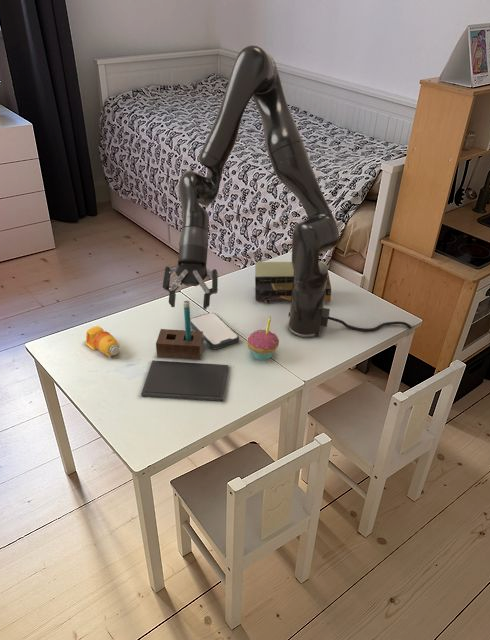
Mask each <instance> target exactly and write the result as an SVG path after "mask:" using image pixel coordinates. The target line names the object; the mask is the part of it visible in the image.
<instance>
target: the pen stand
mask: <svg viewBox="0 0 490 640" xmlns="http://www.w3.org/2000/svg"><path fill="white" fill-rule="evenodd" d="M191 340H192V341H186V334H185V329H184V330H183V329H169V328H160V330H159V333H158V336H157V339H156V342H155V349H156V357H157V358H166V359H179V360H180V359H183V360H195V361H196V360H198V361H199V360H201V357H202V353H203V349H204V339H203V331H195V330H191Z"/></svg>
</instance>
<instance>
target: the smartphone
mask: <svg viewBox="0 0 490 640" xmlns="http://www.w3.org/2000/svg"><path fill="white" fill-rule="evenodd" d="M190 321H191V328H192V329H193V331H203V341H204V342H206V344H207V345H208V346H209V347H210V348H211V349H213V350H214V349H215V350H216V349H220V348H223V347H226V346H230V345H232V344H233V345H234V344H237V343H239V341H240V337H239V335H238V334H237V333H236V332H235V331H234V330H233V329H232V328H231V327H230V326H229V325H228V324H227V323H226V322H225V321H223V320H222V319H221V318H220V317H219V316H218V314H216V313H215V312H208V313H205V314H201V315H198V316H194V317H190Z"/></svg>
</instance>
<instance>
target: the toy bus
mask: <svg viewBox="0 0 490 640" xmlns="http://www.w3.org/2000/svg"><path fill="white" fill-rule="evenodd" d="M321 262H322V263H324V264H325V265H326V266H327V263H326V261H321ZM254 266H255V267H254V270H255V272H254V273H255V274H254V289H255V291H254V293H255V301H256V302H259V303H260V302H262V303H263V302H264V303H265V304H269V303H271V302H291V297H292V285H293V274H294V270H293V266H292V261H256V262H255V265H254ZM331 297H332V286H331V280H330V275H329V273H328V276H327V283H326V291H325V302H331Z"/></svg>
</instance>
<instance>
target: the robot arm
mask: <svg viewBox="0 0 490 640" xmlns="http://www.w3.org/2000/svg"><path fill="white" fill-rule="evenodd" d="M284 92H285V91H284V89H283V85H282V81H281V76H280V73H279V69H278V65H277V63H276V61H275V59H274V58H273V57H272V55H271V54H269V53H268V52H267V51H266V50H265V49H263V48H262V47H260V46H259V45H254V44H252V45H246V46H245V47H243V48H241V50H240V51H239V52H238V53H237V55H236V58H235V60H234V63H233V65H232V68H231V72H230V76H229V78H228V83H227V86H226V89H225V91H224V95H223V97H222V101H221V104H220V105H219V109H218V112H217V115H216V117H215V119H214V122H213V124H212V126H211V128H210V131H209V133H208V135H207V137H206V140H205V142H204V143H203V146H202V149H201V150H200V152H199V155H198V161H199V163H200V164H201V165H202V166H203V167H204V168H205V169H207V174H206V176H205V175H203V174H201V173H199V172H196V171H194V170H186V171H185V172H183V174H181V176H180V178H179V181H178V196H179V202H180V208H181V214H182V221H181V232H180V236H179V242H178V257H177V266H176V268H174V267H170V266H167V265H166V266H165V268H164V273H163V281H162V282H163V283H162V288H163V290H164V291H166V292H168V293H169V294H168V304H169V305H170V307H171V308H175V307H176V299H177V298H176V297H177V296H176V295H177V294H176V292H177V291H178V290H179V289H180V288H182V286H183V285H184V286H185V287H189V286H191V287H198V286H199V287H200V288H201V289H202V290H203V292H204V293H203V304H202V305H203V306H202V309H203V310H207V309H208V308H209V307H210V303H211V296H212V295H216V294H218V292H219V291H218V289H219V288H218V283H219V279H218V278H219V273H218V270H217V269H216V268H214V269H212V270H208V269H207V264H208V252H209V251H208V250H209V249H208V248H209V226H210V225H209V223H210V215H209V212H208V211H207V210H206V209H205V208H203V207H202V206H209V205H211V204H213V203H214V201H215V200H216V199H217V197H218V194H219V190H220V186H221V180H222V177H223V172H224V168H225V165H226V163H227V162H228V160H229V158H230V156H231V154H232V152H233V150H234V147H235V145H236V142H237V139H238V135H239V131H240V127H241V122H242V119H243V116H244V113H245V111H246V108H247V106H248V104H249V102H250V100H251V99H253V102H254V103H255V106H256V108H257V110H258V112H259V115H260V118H261V123H262V128H263V138H264V144H265V148H266V152H267V155H268V158H269V161H270V164H271V166H272V169H273V171H274V173H275V175H276V177H277V179H278V180H279V181H280V182H281V183H282V184H283V185H284V187H286V188H287V190H288V191H290V192H291V193H292V194H293V195H294V196H295V198H297V199H298V201H299V202H300V203H301V206H302V208H303V209H304V212H305V214H306V217H307V219H305V220H302V221H300V222H298V223H297V224H296V225H295V227H294V229H293V232H292V237H291V238H292V239H291V243H292V244H291V262H292V266H293V270H294V274H293V285H292V297H291V301H290V309H289V312H288V317H289V320H288V330H289V332H290V333H291V334H292V335H294V336H296V337H300V338H314V337H317V338H319V337H320V333H321V330H322V327H325V328H327V327H328V323H329V321H333V322H336V323H339V324H341V325H343V326H344V327H346V328H348V329H350V330H353V331H358V332H374V331H377V330H379V329H381V328H383V327H386V326H394V325H403V326H405V327H407V328H408V329H412V328H413V327H412V325H410V324H409V323H407V322H406V321H398V320H397V321H387V322H383V323H380V324H379V325H377V326H374V327H371V328H370V327H369V328H368V327H367V328H366V327H365V328H364V327H363V328H362V327H357V326H353V325H350V324H347V323H346V322H345V321H344V320H341V319H339V318H335V317H332V316H330V311H331V308H329V307H328V308H327V307H325V304H326V303H325V302H326V301H325V291H326V283H327V276H328V274H329V269H328V268H329V267H328V266H327V264H326V265H325V264H324V263H322V262H323V261H320V254H323V253H325V252H329V251H330V250H332V249H335V247H337V246H338V243H339V240H340V230H339V227H338V224H337V220H336V218H335V217H334V215H333V213H332V210H331V208H330V206H329V204H328V202H327V200H326V198H325V195H324V194H323V191H322V189H321V187H320V184H319V182H318V179H317V177H316V174H315V171H314V168H313V166H312V164H311V160H310V157H309V154H308V152H307V149H306V146H305V143H304V140H303V138H302V135H301V132H300V131H299V128H298V126H297V123H296V121H295V118H294V117H293V114H292V112H291V110H290V108H289V105H288V103H287V100H286V97H285V96H286V95H285V93H284ZM201 205H202V206H201ZM174 274H176V276H177V278H176V279H175V280H174V282H173V283H172V284H171V285H170V282H171V277H173V276H174ZM208 276H209V278H210V280H211V288H209V287H208V286H207V284H206V283H205V279H206V278H207V277H208Z"/></svg>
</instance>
